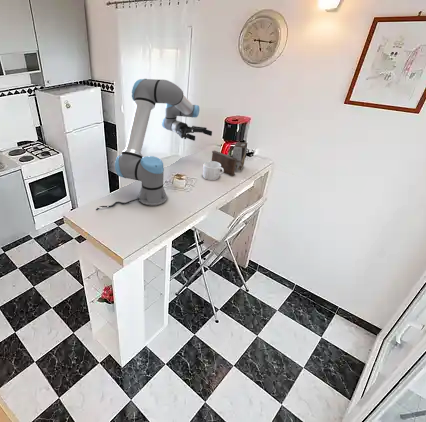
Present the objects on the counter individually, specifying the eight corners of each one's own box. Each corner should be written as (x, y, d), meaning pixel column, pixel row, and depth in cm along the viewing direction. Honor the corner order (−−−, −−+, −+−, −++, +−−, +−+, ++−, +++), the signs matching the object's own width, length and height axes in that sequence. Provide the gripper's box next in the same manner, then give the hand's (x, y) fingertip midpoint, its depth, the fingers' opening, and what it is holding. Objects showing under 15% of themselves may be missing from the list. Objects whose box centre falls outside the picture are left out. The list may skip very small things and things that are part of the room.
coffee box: (240, 172, 182) (244, 147, 174) (229, 170, 185) (233, 146, 177) (243, 166, 189) (248, 142, 180) (233, 164, 192) (237, 141, 183)
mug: (198, 176, 180) (199, 164, 176) (208, 171, 186) (210, 159, 181) (217, 183, 172) (218, 171, 167) (227, 177, 177) (229, 165, 173)
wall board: (210, 166, 192) (211, 151, 186) (213, 165, 193) (214, 150, 187) (231, 176, 178) (234, 160, 173) (235, 175, 180) (237, 159, 174)
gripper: (194, 129, 197) (217, 137, 181) (164, 137, 186) (187, 146, 171) (194, 118, 193) (218, 125, 177) (165, 125, 182) (187, 134, 167)
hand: (203, 136), depth 174 cm, fingers open, 13 cm apart
